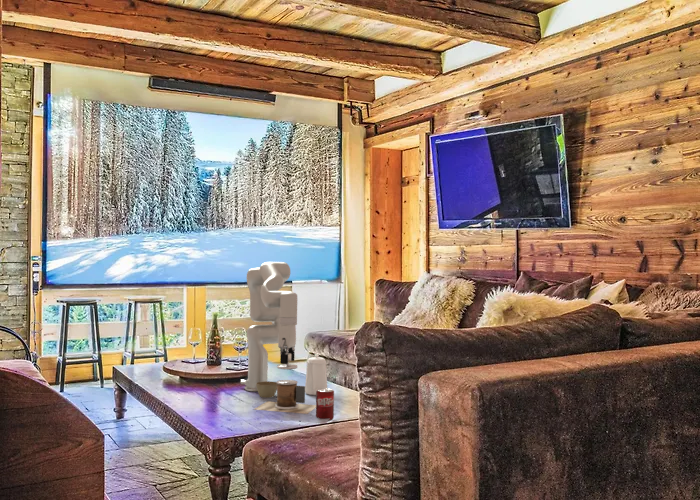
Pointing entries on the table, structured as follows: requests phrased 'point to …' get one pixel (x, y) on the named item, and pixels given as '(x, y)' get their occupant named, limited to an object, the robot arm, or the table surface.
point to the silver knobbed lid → (287, 366)
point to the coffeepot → (315, 375)
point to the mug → (289, 395)
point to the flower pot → (266, 389)
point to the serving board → (301, 409)
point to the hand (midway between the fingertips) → (287, 362)
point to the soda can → (325, 404)
